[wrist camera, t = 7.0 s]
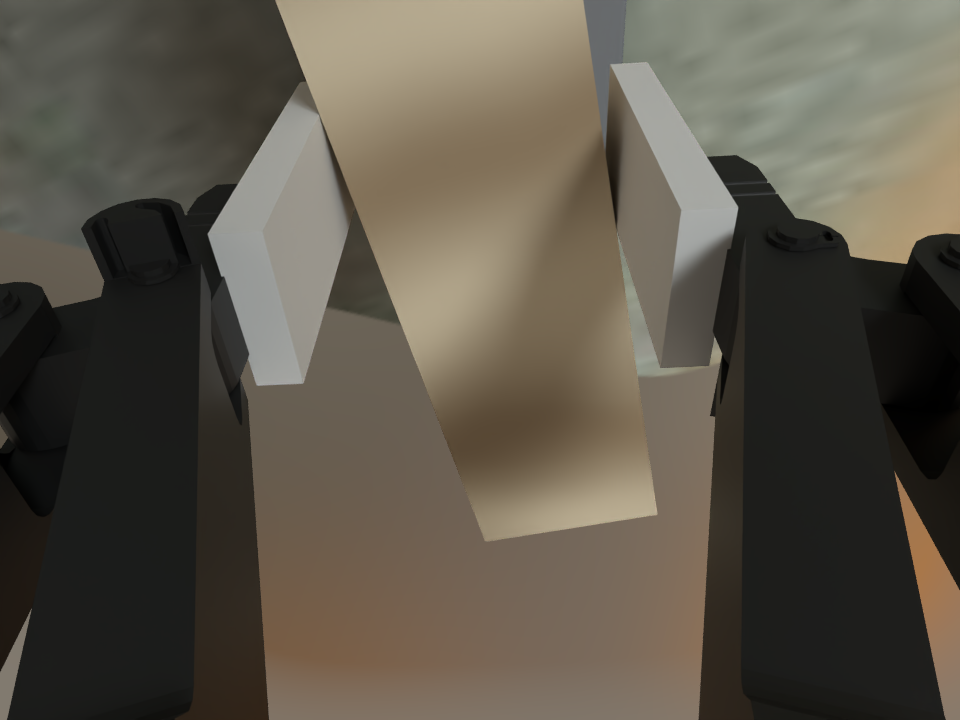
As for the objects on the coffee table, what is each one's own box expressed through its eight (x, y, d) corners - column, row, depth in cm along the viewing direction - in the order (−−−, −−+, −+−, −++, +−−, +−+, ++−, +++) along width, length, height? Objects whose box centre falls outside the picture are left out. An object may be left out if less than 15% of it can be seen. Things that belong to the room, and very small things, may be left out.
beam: (627, 397, 24) (657, 514, 20) (484, 423, 25) (485, 541, 21) (460, -658, 11) (452, -911, 7) (162, -535, 12) (2, -701, 8)
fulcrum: (306, -207, 22) (246, -206, 17) (627, -229, 22) (681, -236, 16) (365, 158, 30) (338, 249, 24) (605, 146, 30) (637, 234, 24)
